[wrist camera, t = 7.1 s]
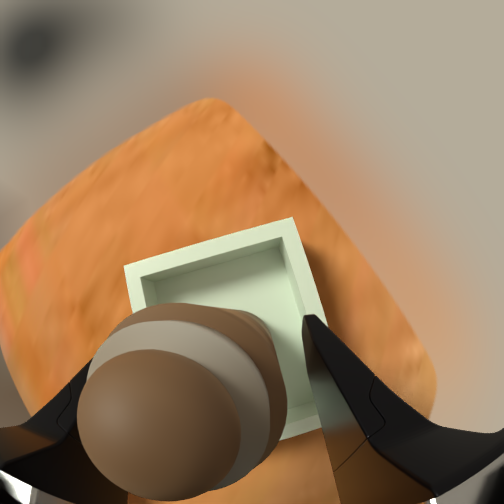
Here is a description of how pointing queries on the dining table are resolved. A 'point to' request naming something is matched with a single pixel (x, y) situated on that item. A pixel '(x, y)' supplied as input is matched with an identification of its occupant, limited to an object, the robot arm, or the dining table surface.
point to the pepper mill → (182, 400)
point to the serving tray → (245, 296)
